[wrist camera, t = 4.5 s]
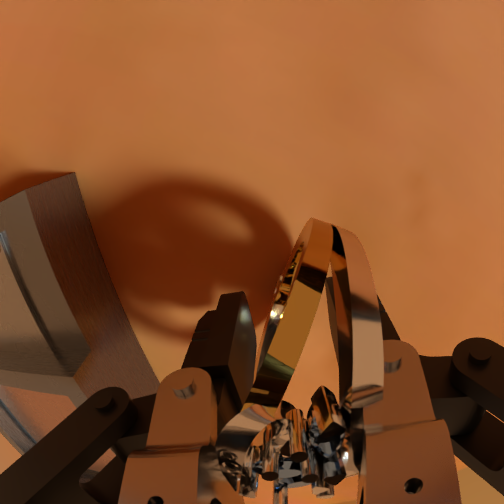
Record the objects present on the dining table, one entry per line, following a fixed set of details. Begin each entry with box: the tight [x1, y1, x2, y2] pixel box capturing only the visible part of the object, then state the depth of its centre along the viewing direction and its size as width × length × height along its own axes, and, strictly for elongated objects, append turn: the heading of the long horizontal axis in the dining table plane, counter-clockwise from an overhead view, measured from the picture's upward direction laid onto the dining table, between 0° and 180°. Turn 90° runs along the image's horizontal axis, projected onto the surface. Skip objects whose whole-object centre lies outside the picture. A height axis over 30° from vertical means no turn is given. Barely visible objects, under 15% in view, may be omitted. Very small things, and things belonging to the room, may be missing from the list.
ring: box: [215, 218, 384, 504], centre depth 8 cm, size 7×3×8 cm, turn 163°
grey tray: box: [0, 172, 160, 483], centre depth 12 cm, size 18×12×4 cm, turn 12°
